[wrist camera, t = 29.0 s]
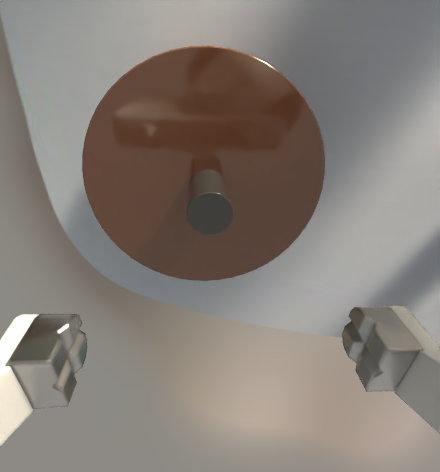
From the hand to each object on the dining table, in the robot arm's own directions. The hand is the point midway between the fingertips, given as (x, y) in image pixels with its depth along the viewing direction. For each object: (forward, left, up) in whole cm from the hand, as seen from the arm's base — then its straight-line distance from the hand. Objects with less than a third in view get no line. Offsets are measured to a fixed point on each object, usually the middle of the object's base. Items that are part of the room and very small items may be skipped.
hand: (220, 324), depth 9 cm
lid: (0, 0, -13) cm, 13 cm away
